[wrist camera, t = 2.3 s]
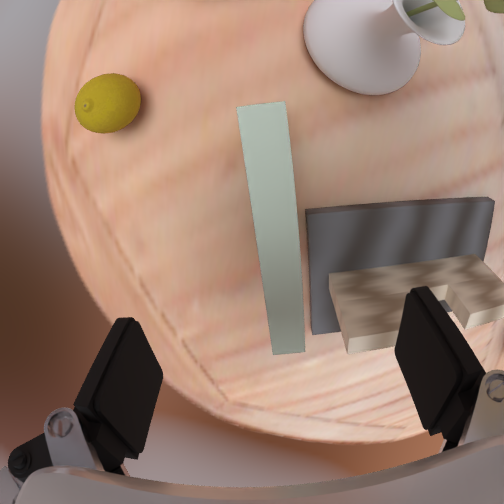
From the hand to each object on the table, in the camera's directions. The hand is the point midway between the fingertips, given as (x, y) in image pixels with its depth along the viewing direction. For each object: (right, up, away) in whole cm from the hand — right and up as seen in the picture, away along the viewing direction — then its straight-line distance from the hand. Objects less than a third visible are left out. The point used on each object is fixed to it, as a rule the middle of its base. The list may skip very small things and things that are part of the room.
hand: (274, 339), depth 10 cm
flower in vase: (+10, +23, +12) cm, 28 cm away
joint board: (+18, +2, +23) cm, 29 cm away
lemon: (-13, +18, +15) cm, 27 cm away
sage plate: (+1, +10, +19) cm, 21 cm away
